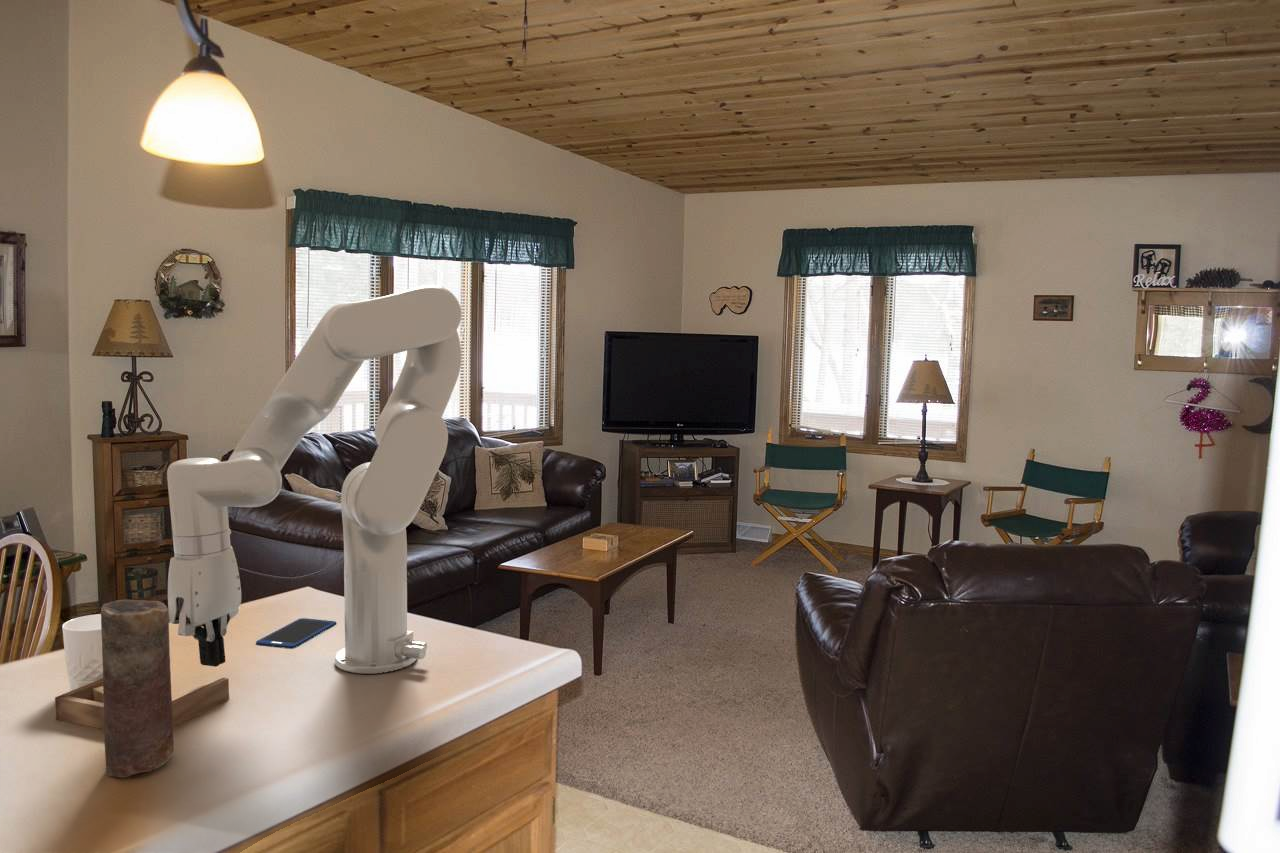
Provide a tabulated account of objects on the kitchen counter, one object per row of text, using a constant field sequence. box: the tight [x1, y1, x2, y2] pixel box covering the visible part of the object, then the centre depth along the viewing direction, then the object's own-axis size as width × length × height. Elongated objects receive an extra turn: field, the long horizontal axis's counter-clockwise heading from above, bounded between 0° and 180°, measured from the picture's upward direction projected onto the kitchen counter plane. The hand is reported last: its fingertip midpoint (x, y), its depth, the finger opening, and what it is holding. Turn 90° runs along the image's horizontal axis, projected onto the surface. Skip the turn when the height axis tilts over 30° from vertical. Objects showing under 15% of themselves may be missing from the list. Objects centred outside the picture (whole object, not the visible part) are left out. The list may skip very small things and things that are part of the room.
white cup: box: [61, 613, 103, 692], centre depth 139 cm, size 8×8×10 cm
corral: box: [54, 677, 230, 730], centre depth 133 cm, size 16×14×3 cm
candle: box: [100, 599, 175, 778], centre depth 115 cm, size 8×7×20 cm
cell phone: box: [255, 617, 337, 649], centre depth 165 cm, size 7×14×1 cm, turn 167°
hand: (213, 663), depth 143 cm, fingers closed
